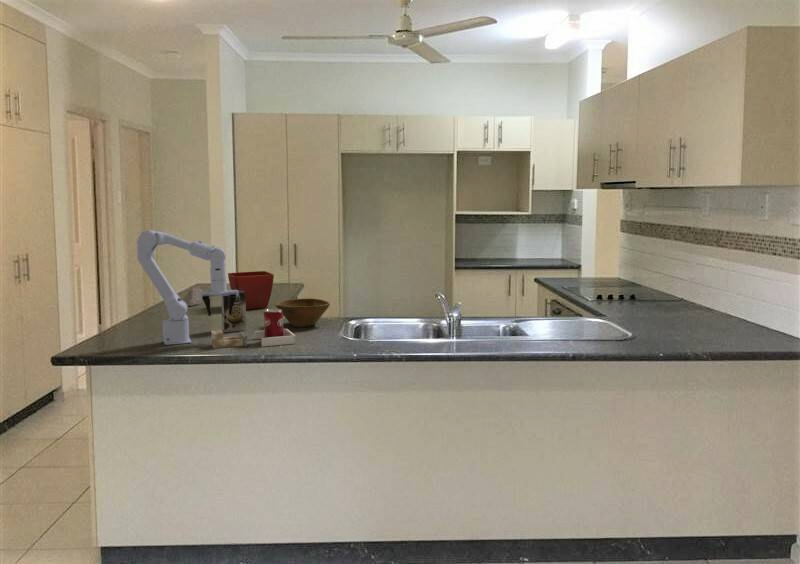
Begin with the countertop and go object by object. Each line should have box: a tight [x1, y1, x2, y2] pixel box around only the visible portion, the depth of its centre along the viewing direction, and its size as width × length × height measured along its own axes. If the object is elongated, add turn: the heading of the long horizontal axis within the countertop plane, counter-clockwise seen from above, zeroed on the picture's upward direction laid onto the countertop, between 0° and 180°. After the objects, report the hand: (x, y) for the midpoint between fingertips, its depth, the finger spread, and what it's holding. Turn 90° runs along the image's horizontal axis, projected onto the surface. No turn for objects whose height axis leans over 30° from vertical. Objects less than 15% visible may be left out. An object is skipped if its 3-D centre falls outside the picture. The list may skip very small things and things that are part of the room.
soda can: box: [263, 308, 285, 338], centre depth 261 cm, size 7×7×12 cm
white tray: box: [254, 328, 297, 347], centre depth 261 cm, size 13×15×3 cm
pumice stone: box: [182, 285, 204, 307], centre depth 347 cm, size 15×8×10 cm, turn 166°
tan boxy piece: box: [210, 329, 248, 349], centre depth 255 cm, size 12×9×6 cm
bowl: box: [274, 297, 331, 328], centre depth 292 cm, size 22×23×10 cm
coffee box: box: [221, 291, 247, 333], centre depth 282 cm, size 9×6×16 cm
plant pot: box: [227, 270, 275, 310], centre depth 339 cm, size 19×19×17 cm
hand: (219, 314), depth 262 cm, fingers open, 7 cm apart
